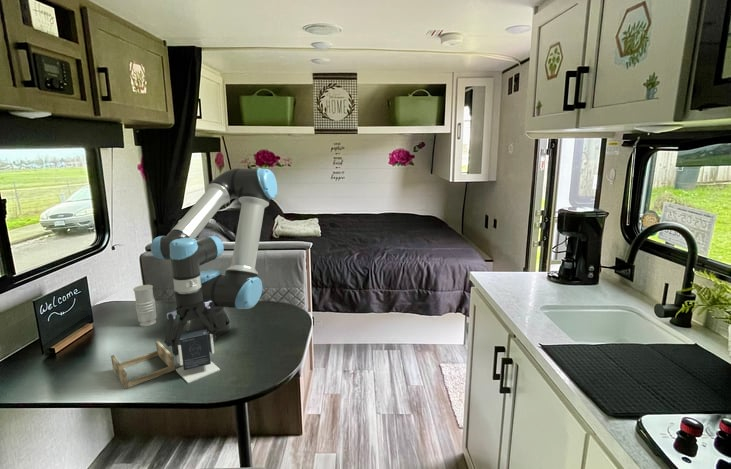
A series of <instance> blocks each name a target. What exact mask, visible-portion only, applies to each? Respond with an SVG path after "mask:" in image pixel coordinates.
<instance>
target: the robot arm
mask: <svg viewBox="0 0 731 469" xmlns="http://www.w3.org/2000/svg"><path fill="white" fill-rule="evenodd" d="M277 195H278V182H277V178H276V176H275V174H274V172H273V171H272V170H270V169H269V168H261V167H259V168H232V169H227V170H226V171H224V172H223V173H220V174H219V175H218V176H217V177H215V178H214V179H213V180H211V181H210V182H209V184H208V185H207V186H206V187H205V192H204V193H203V194H202V195H201V197H199V199H198V200H197V201H196V202H195V203H194V204H193V206H191V208H190V209H188V211H187V212H186V213H185V215H184V216H183V217H182V218H181V219H180V220H179V221H178V222H177V223H176V224H175V226H174V227H172V229H171V230H170V231H169V232H168V233H167V234H166V235H159V236H157V237H155V238H153V240H152V242H151V244H150V251H151V255H152V256H153V257H155V258H156V259H160V260H164V261H165V260H166V261H168V260H169V261H170V264H171V265H170V266H171V269H172V270H171V271H172V280H173V290H174V291H175V292H174V296H175V297H174V298H175V304H176V308H175V310H173V311H166V313H165V317H166V324H165V325H166V327H165V333H164V334H165V335H164V342H163V343H164V344H165V345H166V346H167V347H171V351H172V355H173V356H175V357H176V362H177V364H179V366H183V359H182V351H181V345H180V338H181V335H182V332H183V331H185V330H184V329H185V326H186V325H187V324H188V321H189V324H188V330H193V329H198V328H203V327H206V330H207V334H208V343H209V352H210V354H212V355H213V354H215V345H214V343H215V342H216V341H217V337H219V336H222V335H224V334H225V333H228V332H229V330H231V327H232V324H231V322H232V321H231V319H230V317H229V314H228V312H227V310H226V309H225V308H229V309H230V308H231V309H238V310H243V309H244V310H246V309H247V310H248V309H249V310H250V309H252V308H254V307H255V306H256V305H257V303H258V302H259V300H260V299H261V296H262V294H263V293H262V292H263V282H262V280H261V278H259V273H258V271H257V270H256V263H257V258H258V250H259V245H260V238H261V233H262V232H261V231H262V227H263V226H262V225H263V220H264V219H263V218H264V212H265V209H266V208H267V207H269V205H270V200H273V199H276V196H277ZM233 199H238V202H239V203H240V204H241V207H240V212H239V217H238V219H239V220H238V224H237V229H236V230H237V231H236V234H235V235H236V236H235V241H234V247H233V253H232V259H231V264H230V266H229V267H228V268H226V270H225V273H224V274H222V271H221V270H220V269H218V268H211V269H205V270H202V271H201V268H200V267H201V266H202V265H205V264H207V263H210V262H211V261H215V260H216V259H217V258H220V256H222V255H223V253H224V252H225V251H224V249H225V247H224V242H223V241H222V240H221V238H219V237H218V236H216V235H209V236H205V237H203V238H202V237H198V236H199V234H200V233H201V232H202V231H203V229H205V227H206V226H207V224H208V223H209V222H210V221H211V219H212V218H213V217H214V216H215V215H216V214H217V212H218V211H219V210H220V209H221V207H222V206H223V205H226V204H228V203H229V201H230V200H233ZM177 315H178V316H179V318H178V319H177V321H178V322H177V325H176V327H174V326H175V319H176V316H177ZM174 328H175V330H174Z"/></svg>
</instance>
